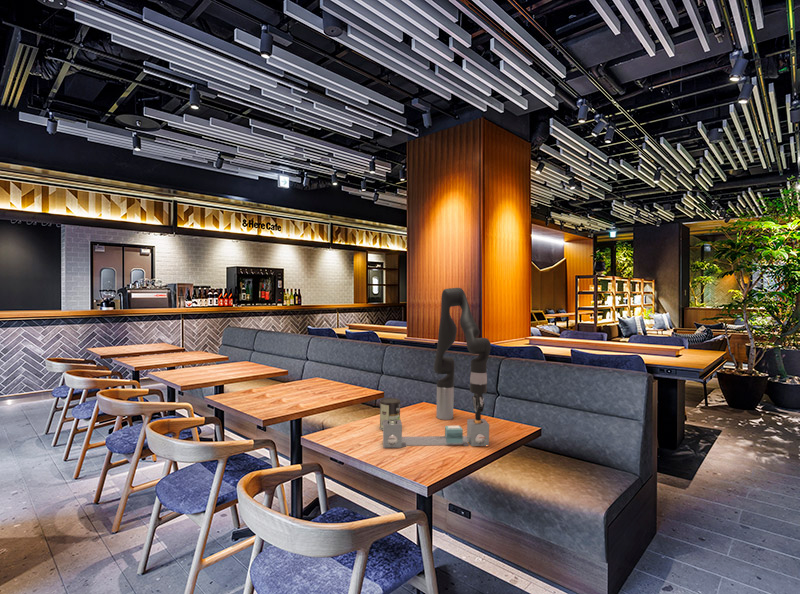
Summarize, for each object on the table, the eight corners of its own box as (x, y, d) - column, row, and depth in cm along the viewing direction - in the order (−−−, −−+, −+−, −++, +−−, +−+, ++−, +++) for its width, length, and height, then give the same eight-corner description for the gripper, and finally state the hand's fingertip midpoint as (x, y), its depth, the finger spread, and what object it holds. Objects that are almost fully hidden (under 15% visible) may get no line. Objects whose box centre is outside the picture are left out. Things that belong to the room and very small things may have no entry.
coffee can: (401, 425, 214) (401, 398, 214) (398, 432, 203) (398, 403, 203) (381, 424, 215) (382, 397, 215) (377, 430, 205) (378, 402, 205)
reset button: (474, 428, 190) (474, 418, 190) (480, 428, 191) (480, 418, 191) (475, 430, 188) (475, 420, 188) (481, 430, 188) (481, 420, 188)
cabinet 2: (467, 440, 193) (467, 419, 193) (483, 440, 193) (484, 418, 193) (471, 447, 184) (471, 424, 184) (489, 447, 185) (489, 424, 185)
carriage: (444, 439, 191) (445, 425, 191) (459, 438, 191) (460, 424, 191) (447, 443, 185) (447, 428, 185) (462, 443, 186) (462, 428, 186)
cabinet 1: (382, 441, 190) (383, 418, 190) (400, 441, 191) (400, 418, 191) (383, 448, 181) (383, 424, 181) (401, 448, 182) (402, 424, 182)
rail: (400, 442, 190) (400, 435, 190) (465, 441, 192) (465, 434, 192) (401, 446, 184) (401, 440, 184) (468, 446, 186) (468, 439, 186)
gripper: (466, 378, 195) (466, 415, 195) (473, 385, 182) (473, 424, 182) (482, 378, 196) (482, 415, 196) (490, 385, 183) (490, 424, 183)
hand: (477, 419), depth 189 cm, fingers closed
